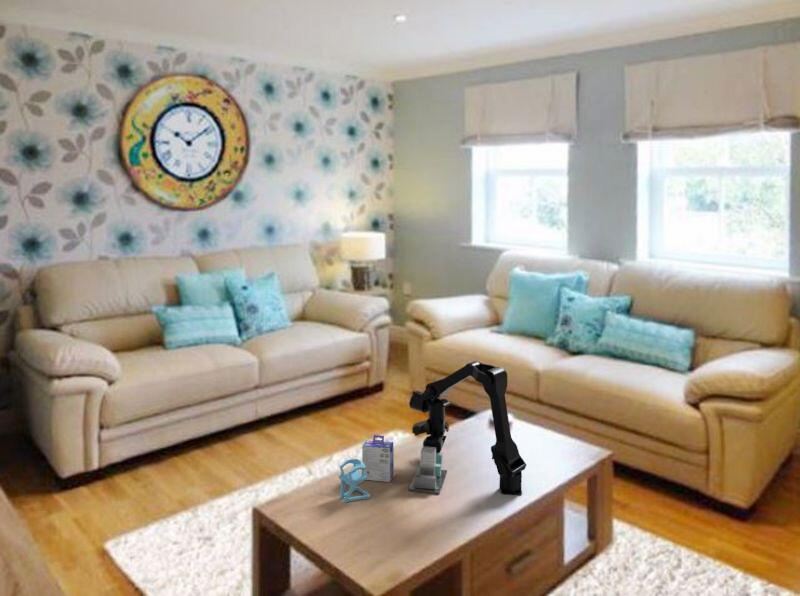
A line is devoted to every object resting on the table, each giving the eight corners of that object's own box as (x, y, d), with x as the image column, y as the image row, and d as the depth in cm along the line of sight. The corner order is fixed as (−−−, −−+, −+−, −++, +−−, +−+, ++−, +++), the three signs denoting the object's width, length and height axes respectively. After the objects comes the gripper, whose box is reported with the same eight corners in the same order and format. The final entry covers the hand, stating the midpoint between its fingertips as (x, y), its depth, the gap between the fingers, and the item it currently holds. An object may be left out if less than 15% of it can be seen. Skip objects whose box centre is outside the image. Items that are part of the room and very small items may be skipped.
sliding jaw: (425, 460, 230) (425, 451, 229) (445, 462, 228) (445, 453, 228) (419, 474, 219) (419, 464, 219) (440, 476, 218) (440, 466, 217)
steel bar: (435, 476, 218) (436, 447, 216) (433, 482, 214) (433, 452, 212) (423, 475, 219) (423, 446, 217) (420, 481, 215) (420, 451, 213)
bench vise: (418, 469, 225) (418, 457, 225) (447, 472, 223) (447, 459, 222) (408, 491, 210) (408, 477, 209) (439, 494, 208) (439, 481, 207)
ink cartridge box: (394, 475, 221) (394, 435, 219) (390, 482, 216) (390, 441, 213) (366, 472, 223) (365, 432, 221) (362, 480, 218) (361, 439, 215)
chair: (335, 496, 207) (334, 461, 205) (357, 488, 212) (356, 454, 210) (348, 505, 201) (347, 469, 199) (370, 497, 206) (370, 462, 204)
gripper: (419, 404, 238) (419, 445, 241) (408, 423, 221) (408, 466, 223) (449, 407, 236) (449, 447, 239) (440, 426, 218) (440, 469, 221)
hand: (436, 457), depth 231 cm, fingers closed
